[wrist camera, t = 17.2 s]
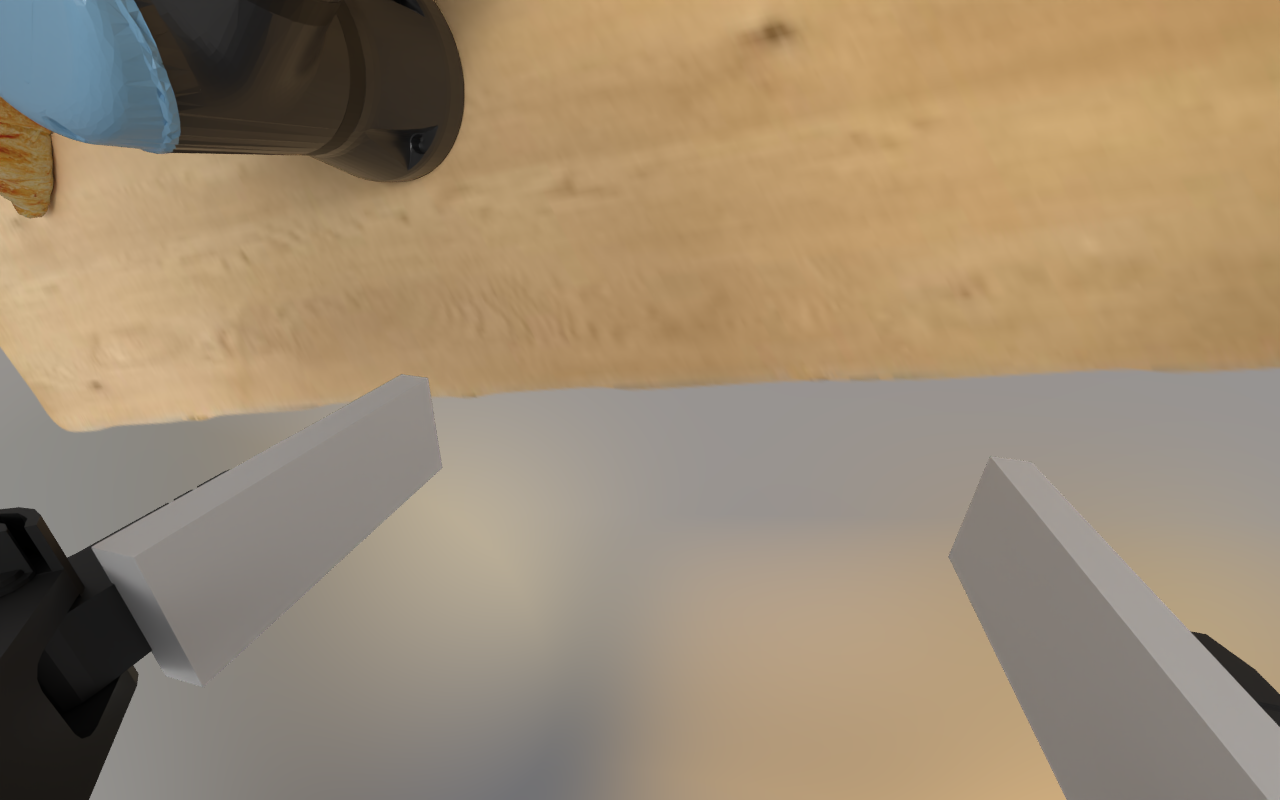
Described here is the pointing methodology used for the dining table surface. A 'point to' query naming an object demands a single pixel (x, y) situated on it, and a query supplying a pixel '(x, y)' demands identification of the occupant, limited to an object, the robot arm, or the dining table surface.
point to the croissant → (25, 162)
